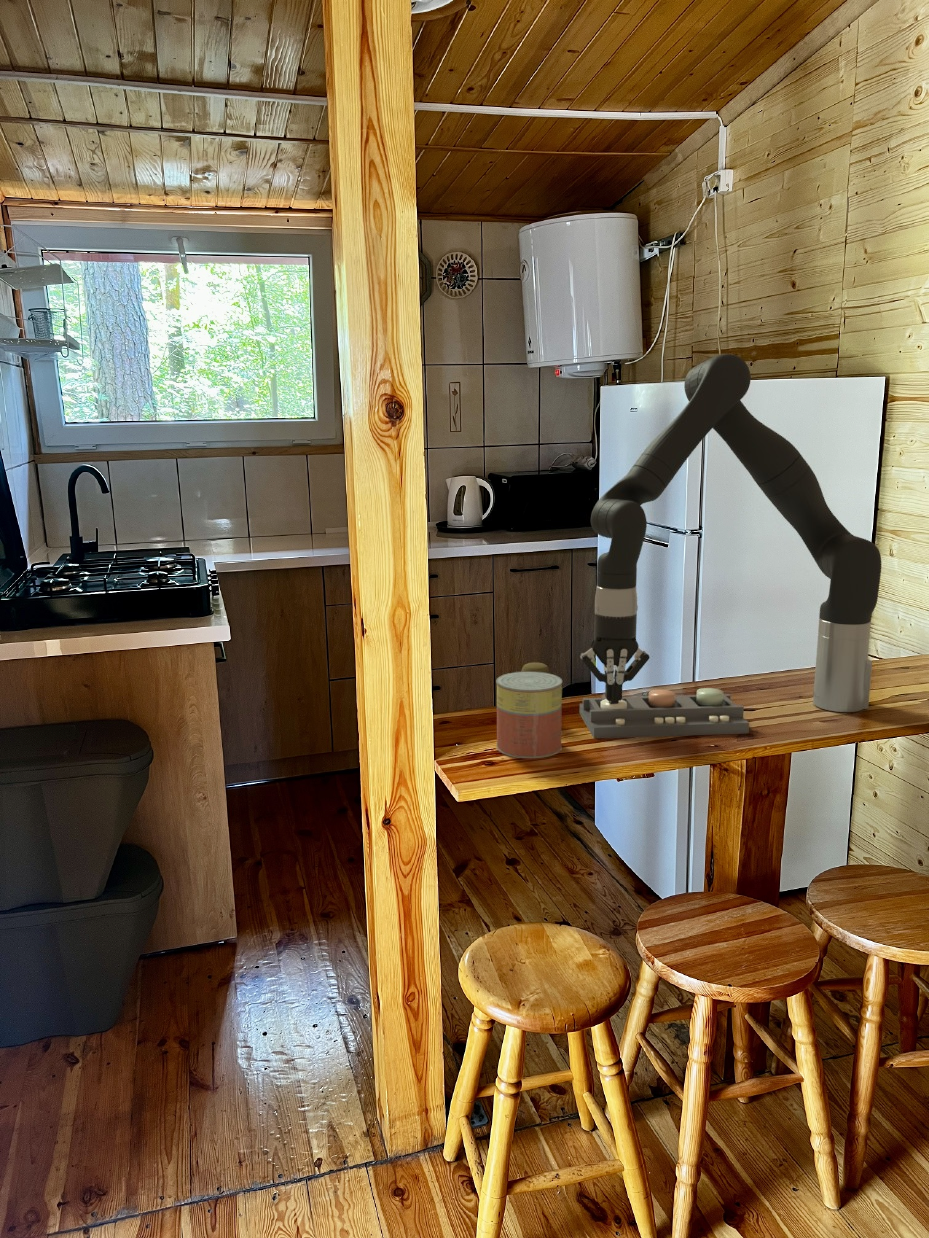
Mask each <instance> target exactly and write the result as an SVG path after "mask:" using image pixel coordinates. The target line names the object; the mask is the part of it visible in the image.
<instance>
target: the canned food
mask: <svg viewBox="0 0 929 1238" xmlns="http://www.w3.org/2000/svg"><path fill="white" fill-rule="evenodd" d="M495 682H496V749H497V750H498V752H499V753H501V754H503V755H505V756H508V757H512V758H518V759H543V758H548V757H552V756H554V755H557V754H558V753H560V751H561V750H562V748H563V747H562V711H563V710H562V708H563V706H562V705H563V704H562V700H563V699H562V698H563V697H562V696H563V679H562V678H561V677H560V676H558V675H557V674H552V673H550V672H549V673H544V672H532V671H524V672H521V671H513V672H509V673H505V674H502V675H500V676H498V677H497V678H496V680H495Z"/></svg>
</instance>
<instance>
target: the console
mask: <svg viewBox="0 0 929 1238" xmlns="http://www.w3.org/2000/svg"><path fill="white" fill-rule="evenodd" d="M696 697H697V694H687V695H686V694H683V695H681V694H680V695H678V694H677V695H675V705H674V706H673V707H667V708H661V707H654V706H651V705H650V704H649V695H647V696H646V695H645V696H622V699H621V700H624V701H626V702H627V709H603V710H601V709H600V706H601V701H602V700H604V699H606V697H585V698H584V697H583V698H582V703H579V715H580V717H581V719H582V720H583V722H584V724H585V725H586V727H587V729H588V731H589V732H590V734H591V736H592V738H593V739H615V738H616V739H617V738H618V739H619V738H643V737H644V738H645V737H679V736H681V737H683V736H709V735H713V736H714V735H736V734H737V735H740V734H741V735H742V734H743V735H744V734H746V735H747V734H749V733H750V723H749V721H748V720H746V718H745V717H744V713H745V712H744V710H745V707H744V706H743V705H742V704H741V705H740V704H739V705H737V704H735V702H734V701H732V699H731V697H732V696H731V694H729V693H724V694H723V704H722V705H719V706H705V705H701V704H698V703H697V702H696Z"/></svg>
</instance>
